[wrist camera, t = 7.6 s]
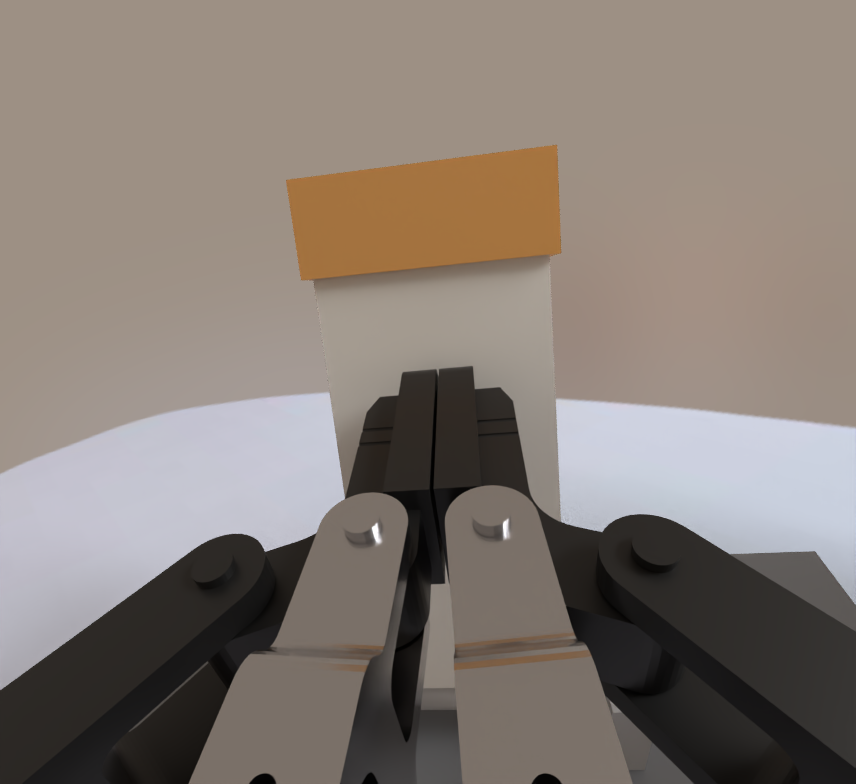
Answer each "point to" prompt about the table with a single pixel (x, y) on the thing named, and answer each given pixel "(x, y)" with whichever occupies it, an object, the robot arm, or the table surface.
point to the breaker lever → (438, 306)
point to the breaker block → (646, 763)
